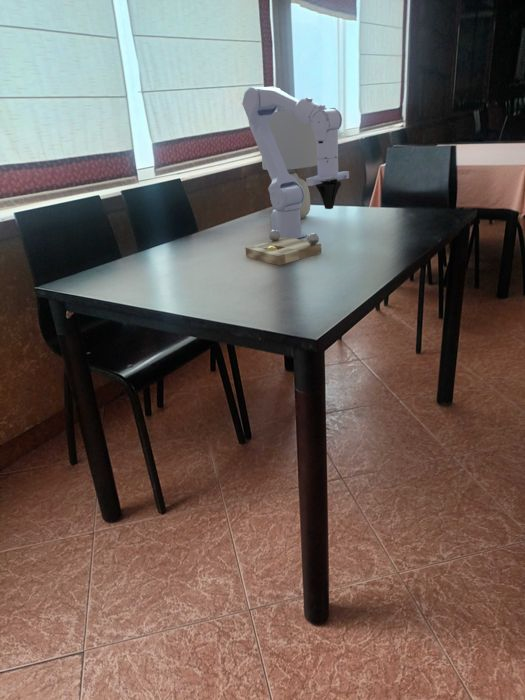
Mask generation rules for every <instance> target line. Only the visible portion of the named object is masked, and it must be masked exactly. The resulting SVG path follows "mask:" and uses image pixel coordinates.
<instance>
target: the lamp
mask: <svg viewBox="0 0 525 700" xmlns="http://www.w3.org/2000/svg"><path fill="white" fill-rule="evenodd" d="M269 127H270V129H271V132H272V134H273V137H274V139H275V142H276V144H277V147H278V149H279V151H280V154H281V156H282V159H283V161H284V164H285V166H286V169H287V171H288V173H289V174H290V175H292V176H293V177H295V178H296V179H297V181H298V183H299V184H300V185H301V186H302V188H303V190H304V193H305V198H304V201H303V202H302V203H301V207H300V219H304V218H305V217H307V216H308V215H309V213H310V210H311V195H310V190H309V189H310V188H309V186H307V185H306V181H305V180H304V179H303V178H300V177H299V175H298V173H297V172H295V170H296V169H303V168H304V169H305V168H310V167H317V141H316V139H315V133H314V131H313V129H312V127H311V126H309V125H307V124H305V123H303V122H301V121H299V120H297V119H296V118H295V115H294V113H293V112H290V111H288V110H281V111H278V110H277V111H275V113H274V115H273V118H272V119H271V120H270V122H269ZM261 162H262V164H261V165H262V170H265V171H266V170H267V168H266V165H265V163H264V160H263V158H262V157H261ZM267 171H268V170H267Z"/></svg>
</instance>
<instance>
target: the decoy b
mask: <svg viewBox="0 0 525 700" xmlns="http://www.w3.org/2000/svg"><path fill="white" fill-rule="evenodd" d="M306 241H308V243H309V244H310V245H315V244H317V243H319V241H320V238H319V235H318V234H317V233H315V232H311V233H309V234H307V236H306Z"/></svg>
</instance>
